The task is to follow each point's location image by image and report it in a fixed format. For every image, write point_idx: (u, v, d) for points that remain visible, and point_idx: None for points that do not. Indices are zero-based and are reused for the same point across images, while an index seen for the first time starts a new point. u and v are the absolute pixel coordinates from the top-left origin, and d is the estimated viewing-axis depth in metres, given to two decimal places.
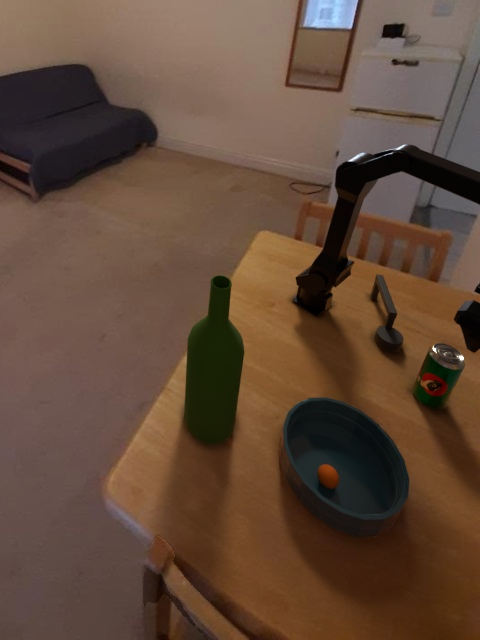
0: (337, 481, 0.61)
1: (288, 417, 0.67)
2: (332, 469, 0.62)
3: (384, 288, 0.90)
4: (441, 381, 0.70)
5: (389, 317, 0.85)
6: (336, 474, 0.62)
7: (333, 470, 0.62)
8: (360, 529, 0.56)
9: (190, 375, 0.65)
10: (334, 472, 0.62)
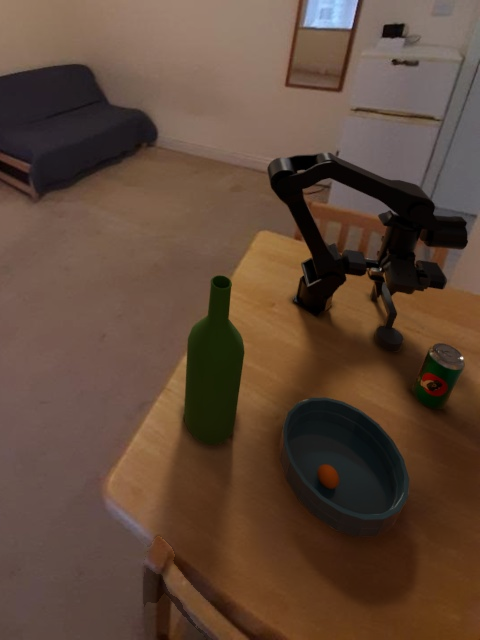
0: (337, 481, 0.61)
1: (288, 417, 0.67)
2: (332, 469, 0.62)
3: (384, 288, 0.90)
4: (441, 381, 0.70)
5: (389, 317, 0.85)
6: (336, 474, 0.62)
7: (333, 470, 0.62)
8: (360, 529, 0.56)
9: (190, 375, 0.65)
10: (334, 472, 0.62)
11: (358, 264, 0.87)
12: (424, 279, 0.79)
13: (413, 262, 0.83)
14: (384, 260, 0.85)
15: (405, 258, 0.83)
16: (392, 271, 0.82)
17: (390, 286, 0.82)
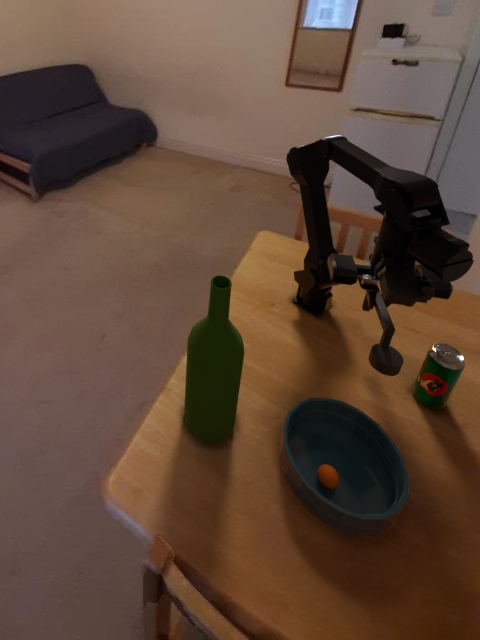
0: (337, 481, 0.61)
1: (288, 417, 0.67)
2: (332, 469, 0.62)
3: (378, 298, 0.76)
4: (441, 381, 0.70)
5: (386, 334, 0.71)
6: (336, 474, 0.62)
7: (333, 470, 0.62)
8: (360, 529, 0.56)
9: (190, 375, 0.65)
10: (334, 472, 0.62)
11: (348, 271, 0.73)
12: (427, 288, 0.65)
13: (413, 267, 0.69)
14: (378, 265, 0.71)
15: (403, 263, 0.69)
16: (388, 279, 0.68)
17: (386, 297, 0.67)
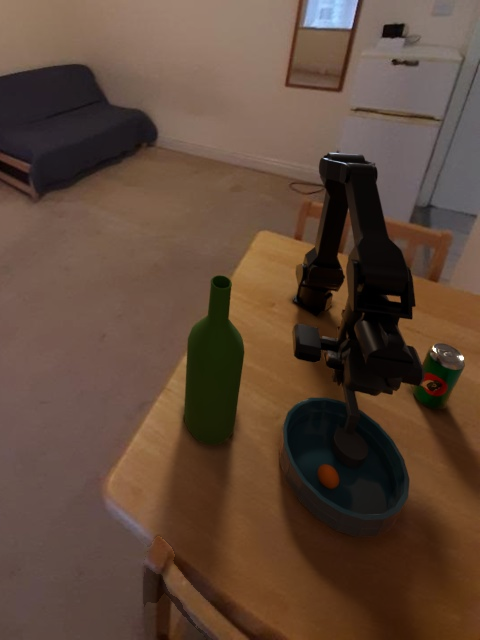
0: (337, 481, 0.61)
1: (288, 417, 0.67)
2: (332, 469, 0.62)
3: None
4: (441, 381, 0.70)
5: (350, 420, 0.64)
6: (336, 474, 0.62)
7: (333, 470, 0.62)
8: (360, 529, 0.56)
9: (190, 375, 0.65)
10: (334, 472, 0.62)
11: (311, 347, 0.67)
12: (393, 379, 0.59)
13: None
14: (343, 346, 0.64)
15: None
16: (352, 364, 0.62)
17: (349, 385, 0.61)
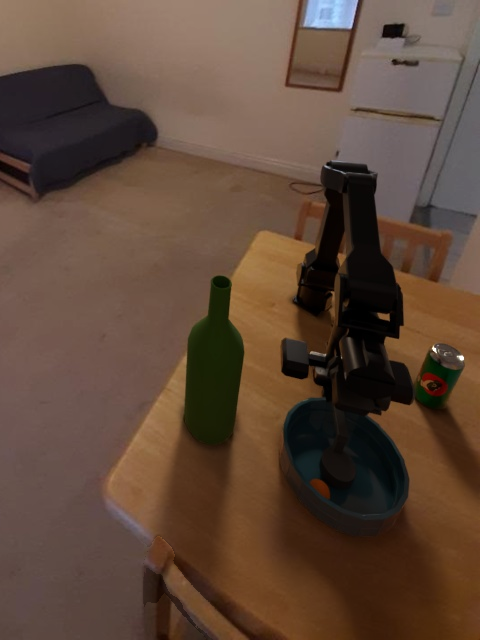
0: None
1: (288, 417, 0.67)
2: None
3: None
4: (441, 381, 0.70)
5: (338, 440, 0.62)
6: None
7: None
8: (360, 529, 0.56)
9: (190, 375, 0.65)
10: None
11: (298, 364, 0.65)
12: (382, 399, 0.57)
13: None
14: (331, 363, 0.62)
15: None
16: (339, 383, 0.59)
17: (336, 404, 0.59)
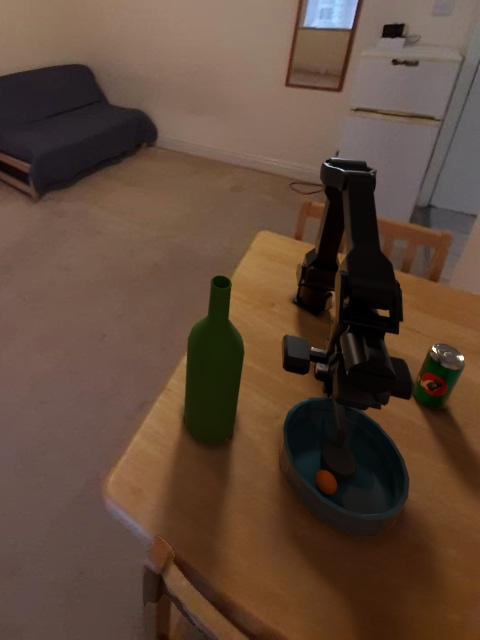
0: (333, 491, 0.60)
1: (288, 417, 0.67)
2: (328, 480, 0.61)
3: None
4: (441, 381, 0.70)
5: (338, 434, 0.63)
6: (332, 484, 0.60)
7: (329, 481, 0.61)
8: (360, 529, 0.56)
9: (190, 375, 0.65)
10: (330, 484, 0.60)
11: (299, 359, 0.66)
12: (381, 394, 0.58)
13: None
14: (331, 358, 0.63)
15: None
16: (340, 378, 0.60)
17: (337, 399, 0.60)
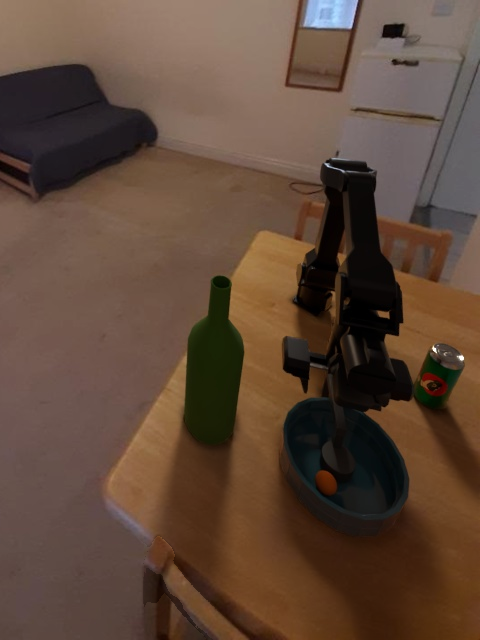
0: (333, 492, 0.60)
1: (288, 417, 0.67)
2: (327, 481, 0.61)
3: None
4: (441, 381, 0.70)
5: (337, 433, 0.64)
6: (332, 485, 0.60)
7: (328, 482, 0.60)
8: (360, 529, 0.56)
9: (190, 375, 0.65)
10: (330, 485, 0.60)
11: (299, 361, 0.66)
12: (381, 396, 0.58)
13: None
14: (332, 360, 0.63)
15: None
16: (340, 379, 0.60)
17: (337, 400, 0.60)
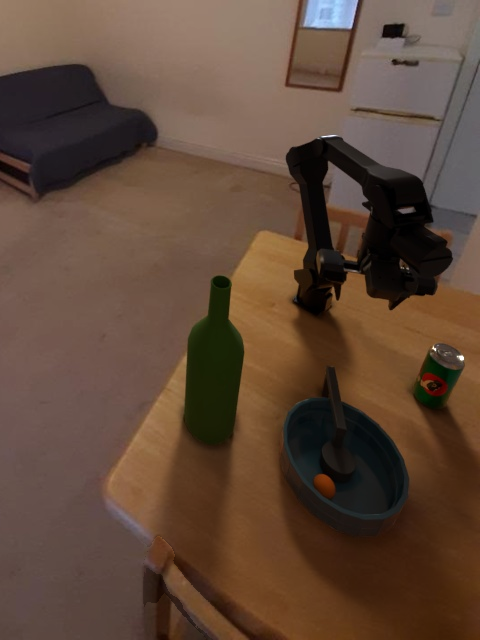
0: (330, 497, 0.60)
1: (288, 417, 0.67)
2: (324, 489, 0.60)
3: (334, 388, 0.70)
4: (441, 381, 0.70)
5: (337, 433, 0.64)
6: (329, 493, 0.60)
7: (325, 490, 0.60)
8: (360, 529, 0.56)
9: (190, 375, 0.65)
10: (326, 493, 0.60)
11: (334, 265, 0.75)
12: (410, 283, 0.66)
13: (398, 263, 0.70)
14: (364, 261, 0.72)
15: (388, 258, 0.70)
16: (373, 274, 0.69)
17: (370, 292, 0.69)
